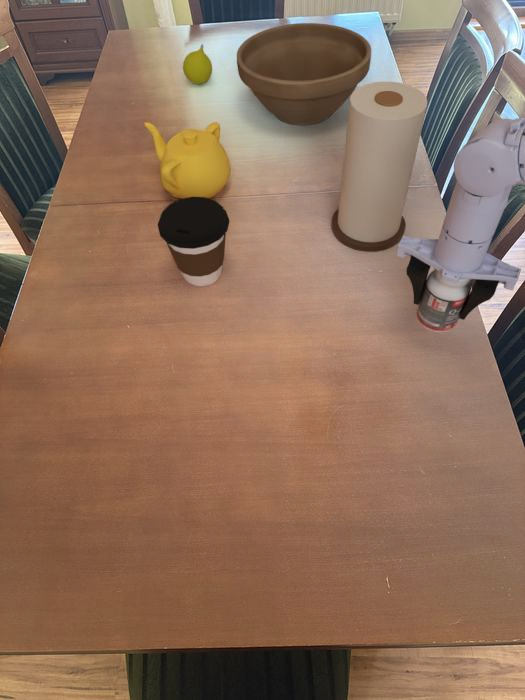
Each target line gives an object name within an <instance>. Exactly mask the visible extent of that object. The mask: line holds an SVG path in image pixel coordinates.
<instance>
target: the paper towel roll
mask: <svg viewBox="0 0 525 700" xmlns="http://www.w3.org/2000/svg"><path fill="white" fill-rule="evenodd" d="M349 97H350V98H349V106H348V116H347V125H346V135H345V143H344V144H345V145H344V155H343V166H342V173H341V174H342V175H341V182H340V183H341V185H340V194H339V201H338V202H339V204H338V208H337V209H336V210H335V211H334V213H333V214H332V218H331V231H332V234H333V236H334V237H335V238H336V239H337V240H338V242H340V243H341V244H342V245H344V246H346V247H347V248H350V249H353V250H356V251H360V252H367V253H370V252H381V251H386V250H388V249H391V248H393V247H394V246H396V245H397V244H399V243H400V241H401V239H402V237H403V236H405V231H406V220H405V218H404V216H403V213H404V209H405V205H406V200H407V196H408V192H409V187H410V182H411V177H412V174H413V170H414V165H415V160H416V156H417V152H418V147H419V143H420V139H421V134H422V129H423V125H424V121H425V116H426V111H427V106H428V98H427V96H426V95H425V94H424V93H423V91H421V90H419V88H416V87H415V86H412V85H409V84H406V83H403V82H396V81H375V82H370V83H366V84H363V85H361V86H359V87H356V88H355V90H354V91H353V93H352V94H351V95H350V96H349Z"/></svg>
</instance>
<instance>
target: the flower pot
mask: <svg viewBox="0 0 525 700" xmlns="http://www.w3.org/2000/svg"><path fill="white" fill-rule="evenodd" d="M371 60H372V46H371V44H370V42H369V41H368V40H367V39H366V38H365V37H364V36H363V35H361V34H360V33H358V32H356V31H353V30H352V29H349V28H346V27H342V26H338V25H334V24H327V23H318V22H300V23H299V22H298V23H297V22H296V23H290V24H284V25H279V26H274V27H271V28H267V29H264V30H262V31H259V32H257V33H255V34H253V35H251V36H250V37H248V38H247V39H245V40H244V41H243V42H242V43H241V44H240V45H239V47H238V49H237V51H236V66H237V73H238V75H239V78H240V80H241V82H242V83H243V84H244V85H245V86H246V87H247V88H249V89H250V90H251V92H252V94H253V96H255V98H256V99H257V100H258V101H259V103H261V104H262V106H263V107H265V109H267V110H268V111H269V112H270V113H271V114H272V115H273V116H274V117H276V118H277V119H278V120H279V121H281V122H283V123H285V124H288V125H293V126H309V125H315V124H318V123H322V122H324V121H326V120H327V119H329V118H330V117H331V116H332V114H334V113H335V112H336V111H337V110H339V108H341V106H343V105H344V103H346V101H347V100H348V99H349V97H351V94H352V93H353V92H354V91H355V90H356V89H357V86H358V84H360V83H361V82H362V81H363V80H365V78H366V77H367V76H368V73H369V72H370V66H371V62H372V61H371Z"/></svg>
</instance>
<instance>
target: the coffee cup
mask: <svg viewBox="0 0 525 700" xmlns="http://www.w3.org/2000/svg"><path fill="white" fill-rule="evenodd" d="M229 226H230V217H229V214H228V212H227V210H226V209H225V208H224V206H223V205H222V204H220V203H219V202H218V201H216V200H214V199H211V198H209V199H208V198H205V197H188V198H183V199H181V198H179V199H177V200H176V201H173V202H171V203H170V204H168V206H166V207H165V208H164V209H163V210H162V212H161V214H160V216H159V219H158V222H157V229H158V233H159V236H160V238H161V239H162V240H163V241H164V242H165V243H166V245H167V247H168V249H169V252H170V255H171V256H172V259H173V260H174V263H175V265H176V267H177V269H178V270H179V271H180V273H181V275H182V277H183V279H184V280H185V281H186V282H187V283H188V284H189V285H191V286H194V287H202V288H203V287H207V286H211V285H213V284H215V283H216V282H217V281H218V280H219V278H220V277H221V275H222V272H223V263H224V260H225V252H226V251H225V249H226V238H227V232H228V230H229Z"/></svg>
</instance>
